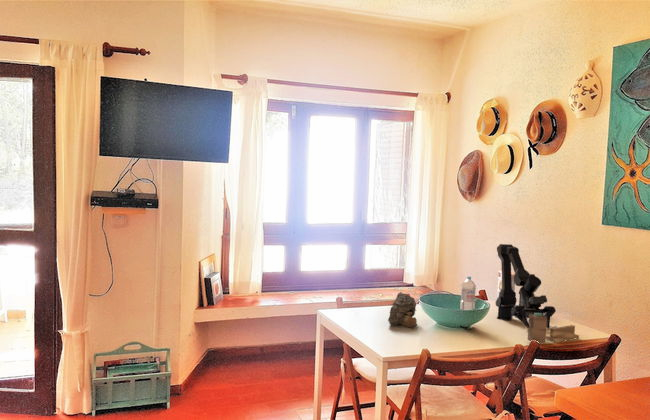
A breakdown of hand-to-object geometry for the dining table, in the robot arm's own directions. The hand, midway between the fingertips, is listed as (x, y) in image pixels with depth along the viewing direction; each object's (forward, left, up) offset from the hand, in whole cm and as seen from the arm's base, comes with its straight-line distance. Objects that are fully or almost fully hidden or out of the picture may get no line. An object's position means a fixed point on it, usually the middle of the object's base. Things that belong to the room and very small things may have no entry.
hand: (538, 327), depth 206 cm
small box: (-13, +46, -7) cm, 48 cm away
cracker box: (-26, +54, -7) cm, 60 cm away
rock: (-59, -16, -7) cm, 61 cm away
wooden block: (-1, +1, -7) cm, 7 cm away
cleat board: (+4, +16, -7) cm, 18 cm away
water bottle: (-33, +2, -7) cm, 34 cm away
